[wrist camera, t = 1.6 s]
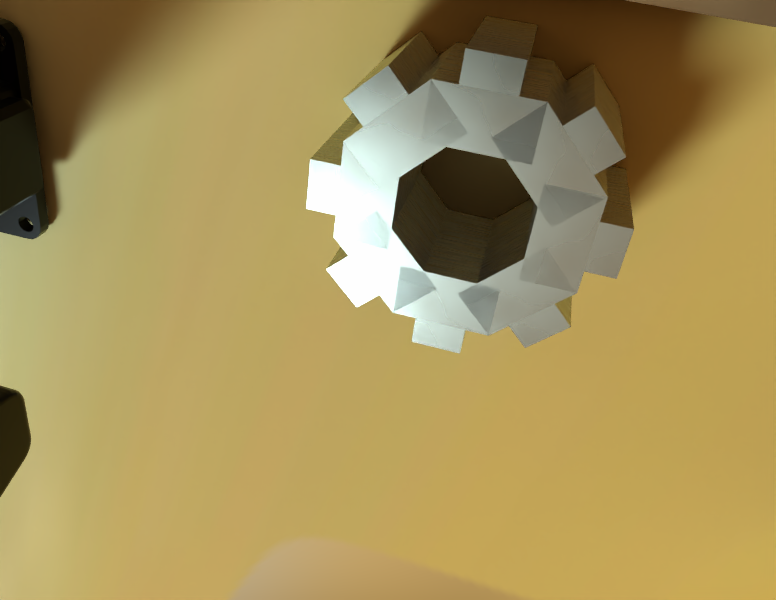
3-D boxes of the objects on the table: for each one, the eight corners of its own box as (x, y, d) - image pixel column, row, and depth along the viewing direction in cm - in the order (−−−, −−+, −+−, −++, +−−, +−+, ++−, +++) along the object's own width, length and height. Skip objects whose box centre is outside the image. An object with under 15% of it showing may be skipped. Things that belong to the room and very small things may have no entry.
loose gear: (338, 250, 21) (298, 313, 18) (366, -7, 17) (320, 20, 14) (580, 306, 20) (579, 382, 17) (665, 49, 16) (683, 89, 13)
